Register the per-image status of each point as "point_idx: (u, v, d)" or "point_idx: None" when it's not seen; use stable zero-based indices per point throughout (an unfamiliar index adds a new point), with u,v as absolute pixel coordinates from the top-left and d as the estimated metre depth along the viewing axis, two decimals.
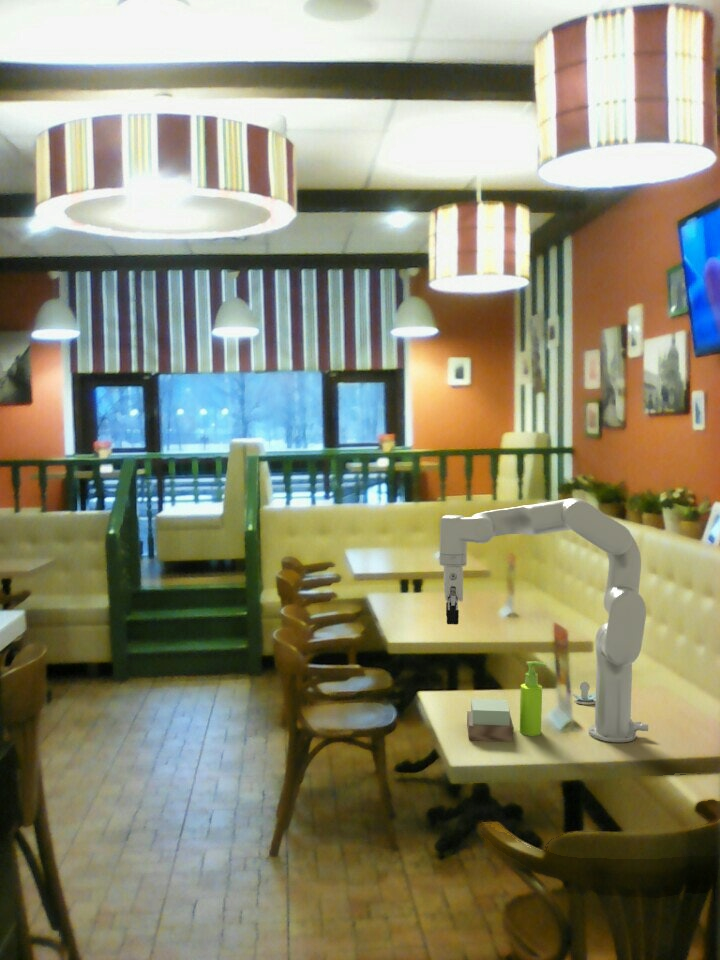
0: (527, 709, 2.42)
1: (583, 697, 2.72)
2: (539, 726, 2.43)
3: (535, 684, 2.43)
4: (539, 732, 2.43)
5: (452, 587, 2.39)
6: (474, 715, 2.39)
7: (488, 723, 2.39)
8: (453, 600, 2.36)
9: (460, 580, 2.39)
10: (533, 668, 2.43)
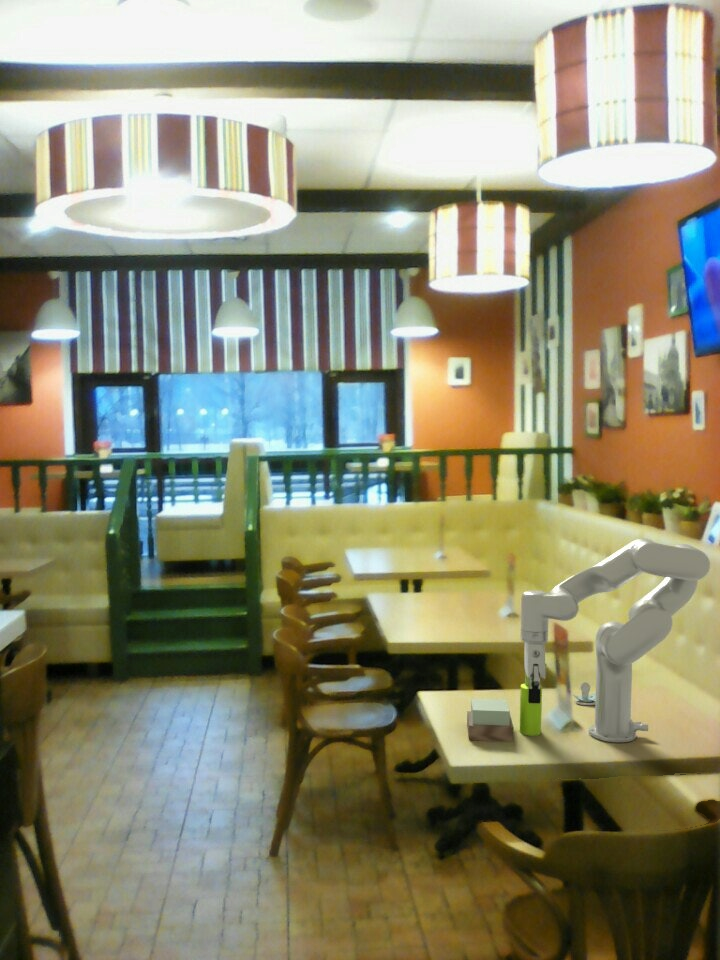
0: (527, 709, 2.42)
1: (584, 698, 2.72)
2: (539, 726, 2.43)
3: None
4: (539, 732, 2.43)
5: (535, 666, 2.39)
6: (474, 715, 2.39)
7: (488, 723, 2.39)
8: (536, 682, 2.37)
9: (543, 657, 2.38)
10: None
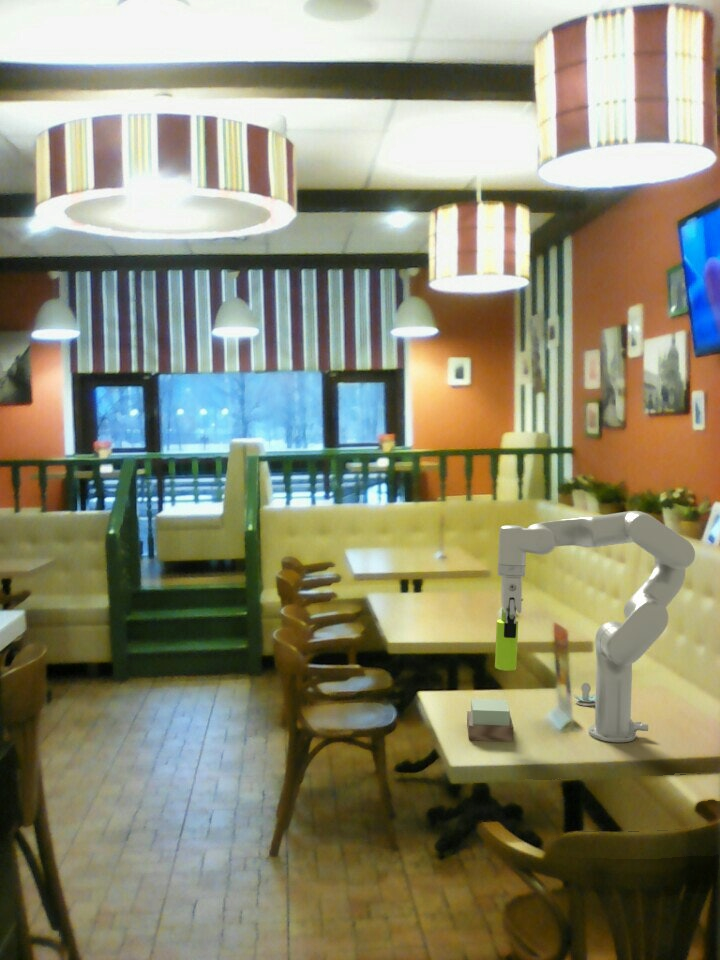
0: (502, 644, 2.40)
1: (584, 698, 2.71)
2: (514, 661, 2.41)
3: None
4: (514, 667, 2.41)
5: (511, 600, 2.37)
6: (474, 715, 2.39)
7: (488, 723, 2.39)
8: (512, 616, 2.35)
9: (519, 591, 2.37)
10: None
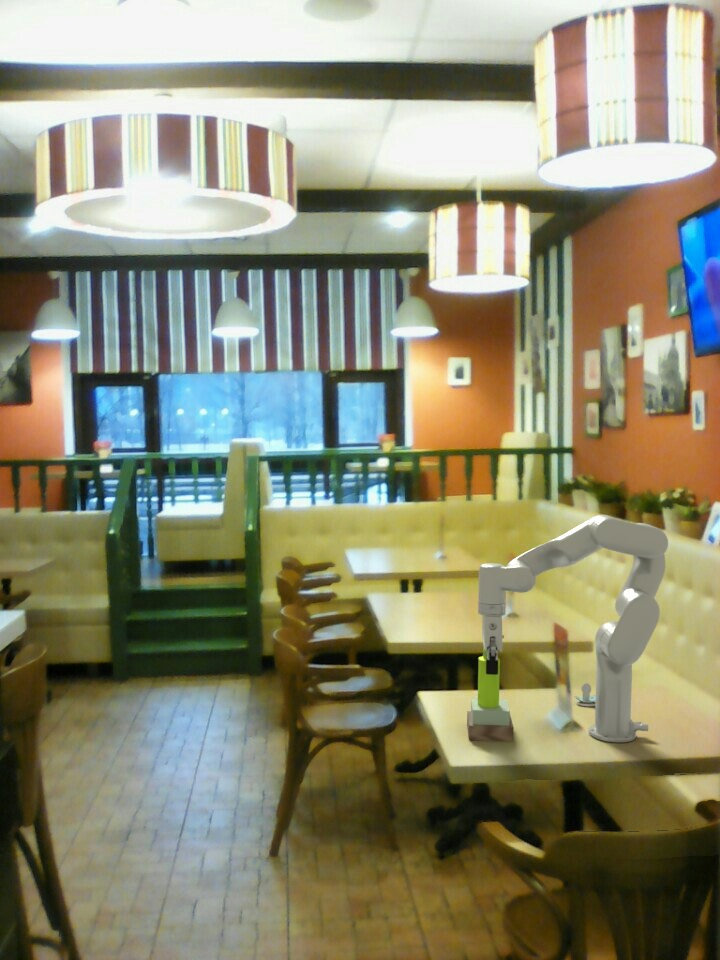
0: (484, 682, 2.40)
1: (585, 699, 2.70)
2: (497, 698, 2.41)
3: None
4: (497, 705, 2.41)
5: (492, 637, 2.37)
6: (474, 715, 2.39)
7: (488, 723, 2.39)
8: (493, 651, 2.34)
9: (500, 630, 2.37)
10: None
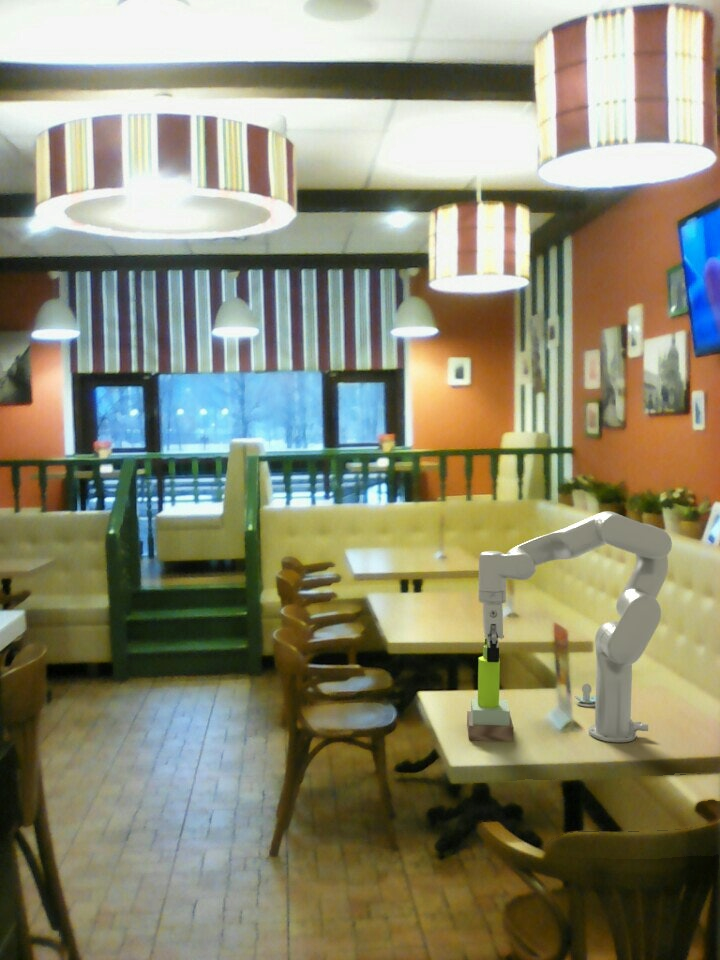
0: (484, 682, 2.40)
1: (585, 699, 2.70)
2: (497, 698, 2.41)
3: None
4: (497, 705, 2.41)
5: (492, 625, 2.37)
6: (474, 715, 2.39)
7: (488, 723, 2.39)
8: (494, 638, 2.34)
9: (500, 617, 2.37)
10: None
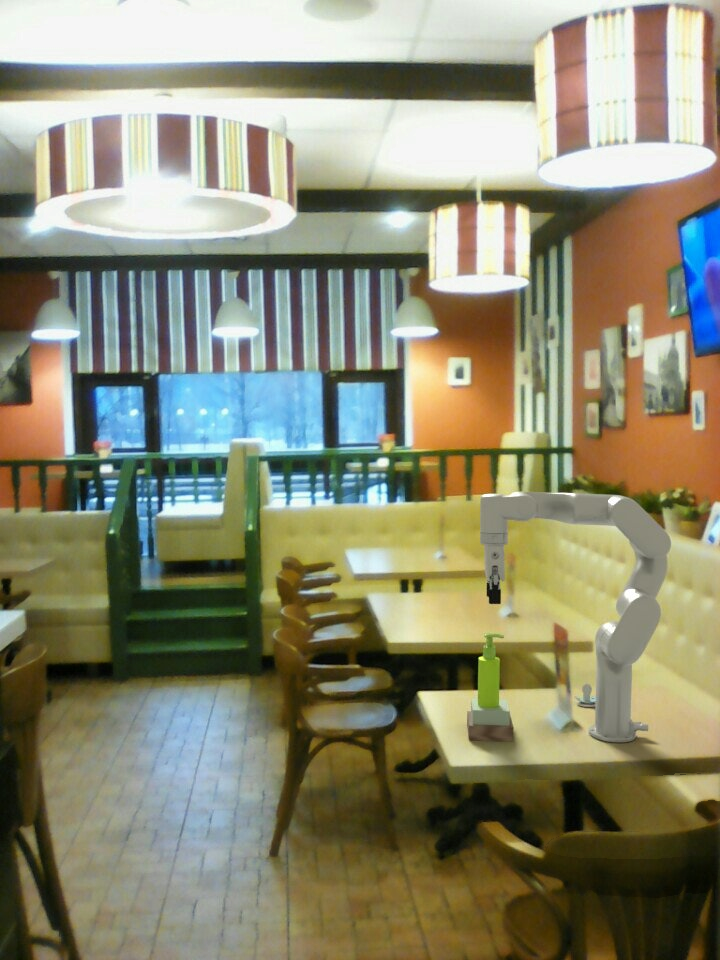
0: (484, 682, 2.40)
1: (585, 699, 2.70)
2: (497, 698, 2.41)
3: (493, 656, 2.41)
4: (497, 705, 2.41)
5: (494, 566, 2.36)
6: (474, 715, 2.39)
7: (488, 723, 2.39)
8: (496, 579, 2.33)
9: (502, 559, 2.36)
10: (491, 640, 2.42)
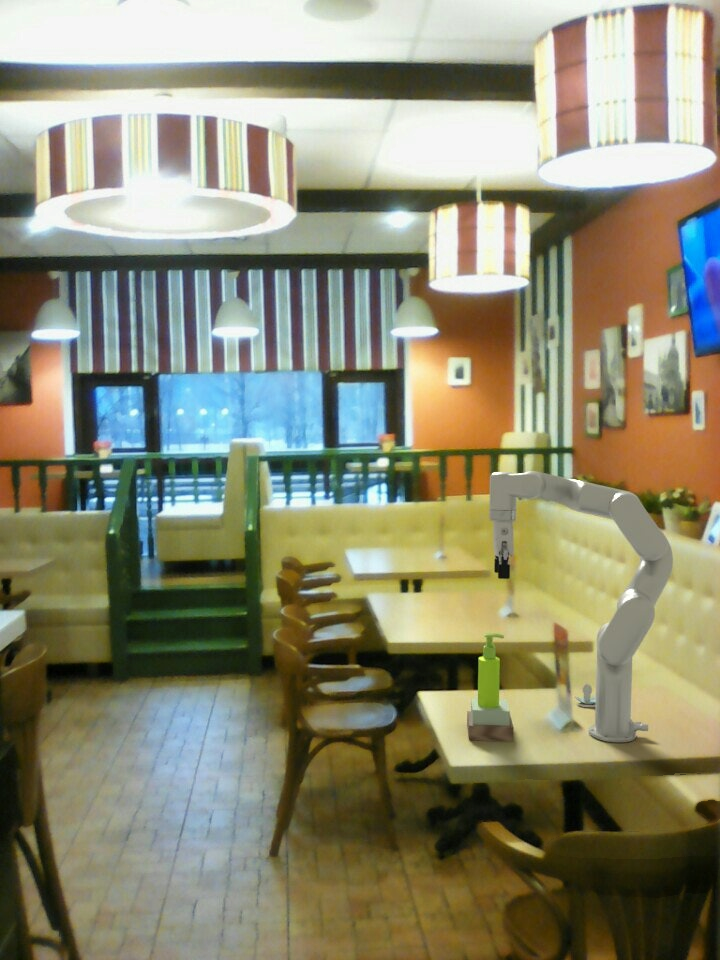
0: (484, 682, 2.40)
1: (586, 700, 2.70)
2: (497, 698, 2.41)
3: (493, 656, 2.41)
4: (497, 705, 2.41)
5: (503, 542, 2.43)
6: (474, 715, 2.39)
7: (488, 723, 2.39)
8: (505, 554, 2.39)
9: (511, 535, 2.43)
10: (491, 640, 2.42)
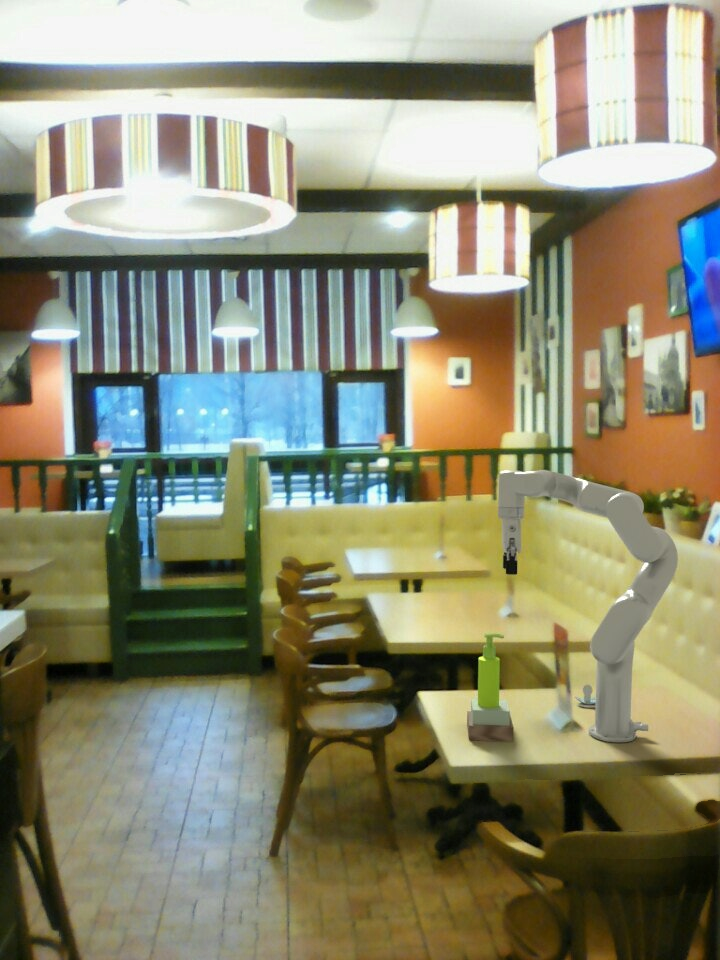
0: (484, 682, 2.40)
1: (586, 700, 2.69)
2: (497, 698, 2.41)
3: (493, 656, 2.41)
4: (497, 705, 2.41)
5: (511, 538, 2.49)
6: (474, 715, 2.39)
7: (488, 723, 2.39)
8: (513, 550, 2.46)
9: (519, 532, 2.49)
10: (491, 640, 2.42)
